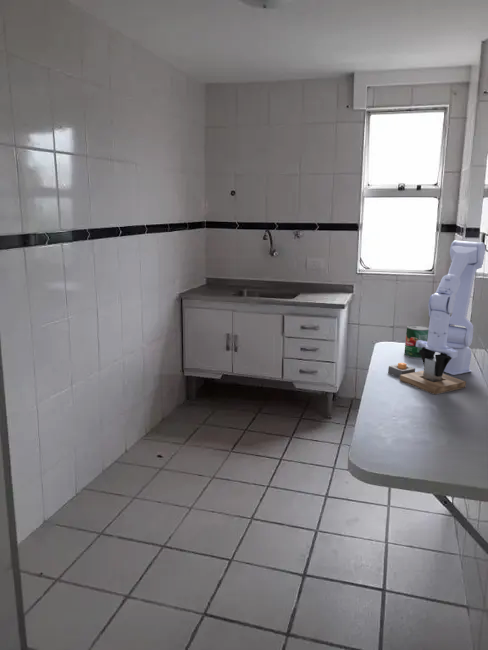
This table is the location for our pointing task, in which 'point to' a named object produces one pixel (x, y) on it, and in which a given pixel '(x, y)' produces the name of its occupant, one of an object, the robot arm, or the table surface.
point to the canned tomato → (412, 336)
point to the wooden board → (432, 383)
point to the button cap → (402, 365)
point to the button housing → (400, 370)
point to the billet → (431, 370)
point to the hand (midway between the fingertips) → (433, 373)
